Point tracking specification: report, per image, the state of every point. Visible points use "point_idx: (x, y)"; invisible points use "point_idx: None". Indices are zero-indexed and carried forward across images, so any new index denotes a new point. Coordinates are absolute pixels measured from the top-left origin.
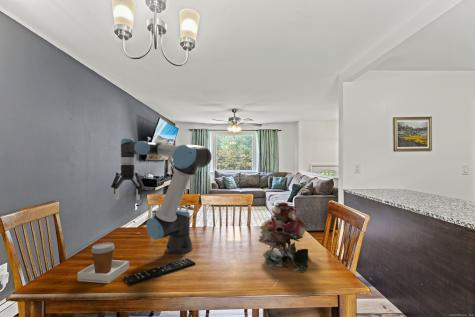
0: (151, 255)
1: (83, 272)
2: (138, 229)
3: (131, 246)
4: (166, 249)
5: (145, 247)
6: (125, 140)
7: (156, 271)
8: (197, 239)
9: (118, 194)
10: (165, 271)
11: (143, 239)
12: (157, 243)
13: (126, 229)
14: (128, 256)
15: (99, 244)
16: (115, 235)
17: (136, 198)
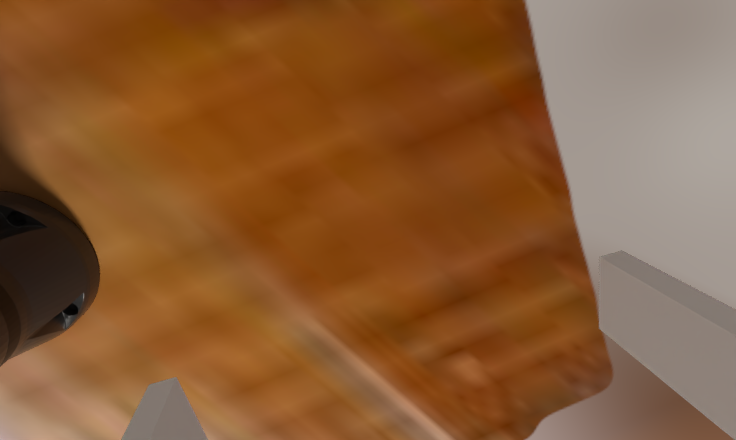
0: (80, 119)
1: None
2: (509, 405)
3: (328, 192)
4: (44, 210)
5: (236, 211)
6: None
7: None
8: (63, 427)
9: (682, 375)
10: None
11: (358, 304)
12: (227, 288)
13: (569, 379)
14: (200, 50)
15: None
16: (555, 289)
17: (155, 408)
